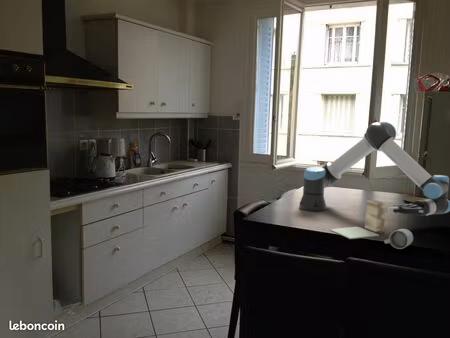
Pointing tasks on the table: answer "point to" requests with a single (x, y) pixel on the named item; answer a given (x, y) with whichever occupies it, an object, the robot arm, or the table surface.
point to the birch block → (375, 216)
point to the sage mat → (354, 232)
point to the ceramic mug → (400, 238)
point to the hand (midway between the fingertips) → (386, 210)
